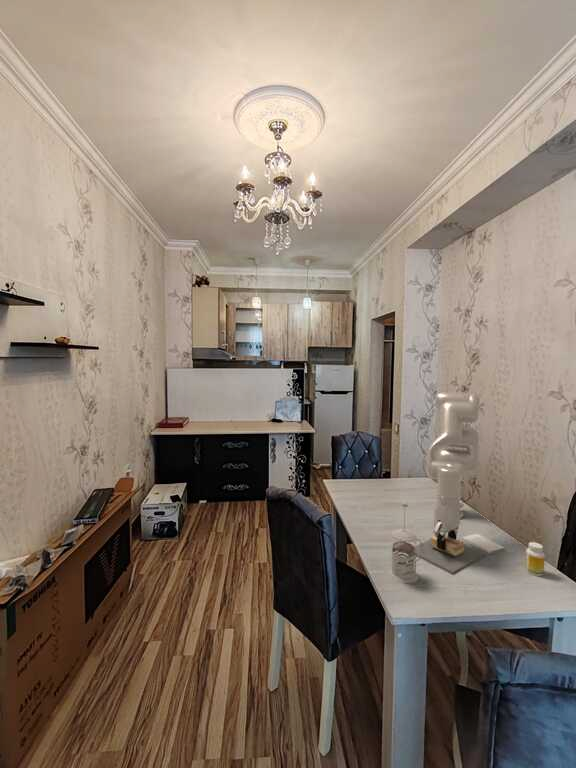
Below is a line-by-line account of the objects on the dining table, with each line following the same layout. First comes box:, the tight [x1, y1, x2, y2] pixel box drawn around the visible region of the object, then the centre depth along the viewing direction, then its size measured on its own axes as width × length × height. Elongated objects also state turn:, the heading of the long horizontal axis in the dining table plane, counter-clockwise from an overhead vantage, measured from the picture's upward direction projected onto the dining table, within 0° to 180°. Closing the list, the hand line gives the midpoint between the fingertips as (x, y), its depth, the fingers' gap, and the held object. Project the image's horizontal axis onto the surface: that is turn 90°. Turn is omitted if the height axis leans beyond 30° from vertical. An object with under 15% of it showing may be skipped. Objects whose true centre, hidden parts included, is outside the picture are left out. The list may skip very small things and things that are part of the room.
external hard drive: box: [462, 533, 506, 555], centre depth 142 cm, size 2×8×12 cm
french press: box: [388, 501, 424, 584], centre depth 121 cm, size 10×12×25 cm
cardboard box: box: [429, 533, 465, 556], centre depth 135 cm, size 10×6×3 cm, turn 38°
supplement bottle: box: [524, 541, 546, 577], centre depth 123 cm, size 5×5×10 cm
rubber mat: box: [414, 539, 487, 575], centre depth 135 cm, size 22×18×1 cm
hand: (446, 545), depth 135 cm, fingers open, 6 cm apart
